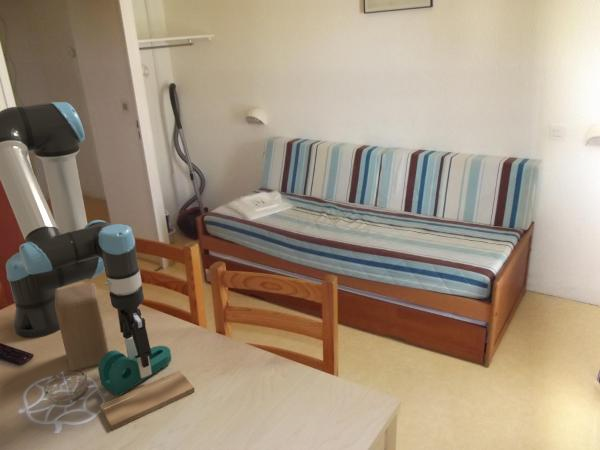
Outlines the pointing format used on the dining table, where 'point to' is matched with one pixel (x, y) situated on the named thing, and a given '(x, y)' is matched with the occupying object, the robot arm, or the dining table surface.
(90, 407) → the dining table surface
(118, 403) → the plank
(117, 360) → the bracket
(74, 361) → the block
